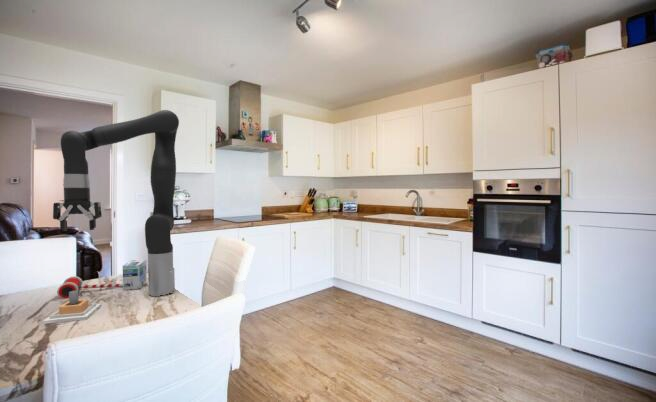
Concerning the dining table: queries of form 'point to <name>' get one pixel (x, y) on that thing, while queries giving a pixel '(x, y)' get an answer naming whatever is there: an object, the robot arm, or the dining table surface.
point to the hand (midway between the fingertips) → (78, 230)
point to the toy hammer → (78, 286)
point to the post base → (75, 316)
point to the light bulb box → (134, 274)
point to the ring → (73, 307)
